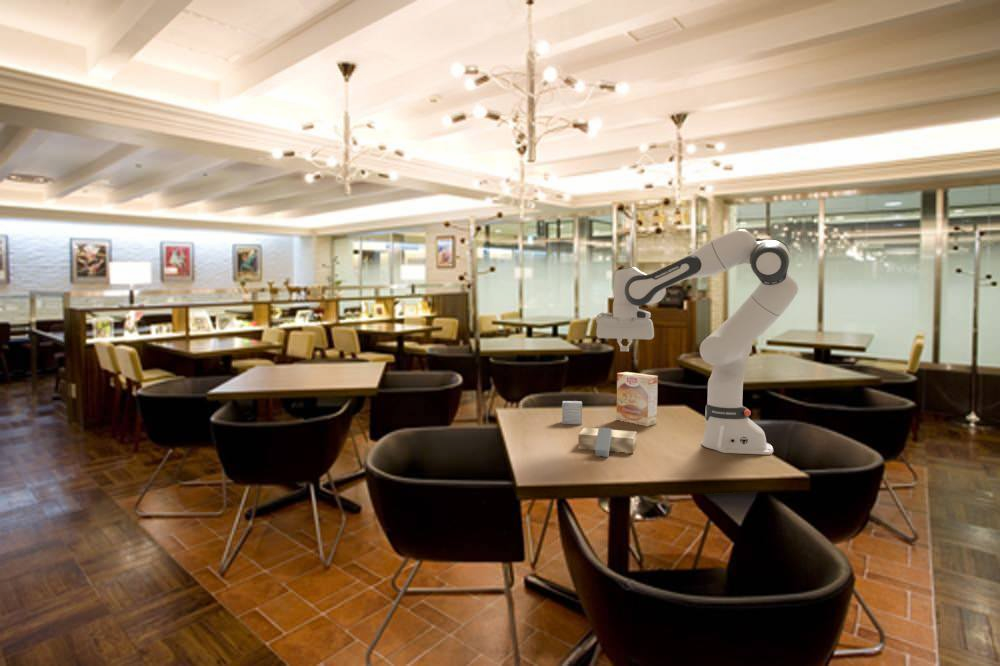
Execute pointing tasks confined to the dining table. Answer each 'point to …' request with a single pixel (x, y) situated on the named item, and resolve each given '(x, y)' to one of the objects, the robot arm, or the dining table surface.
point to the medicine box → (571, 412)
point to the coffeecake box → (637, 398)
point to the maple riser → (619, 440)
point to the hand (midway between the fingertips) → (624, 351)
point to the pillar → (603, 442)
